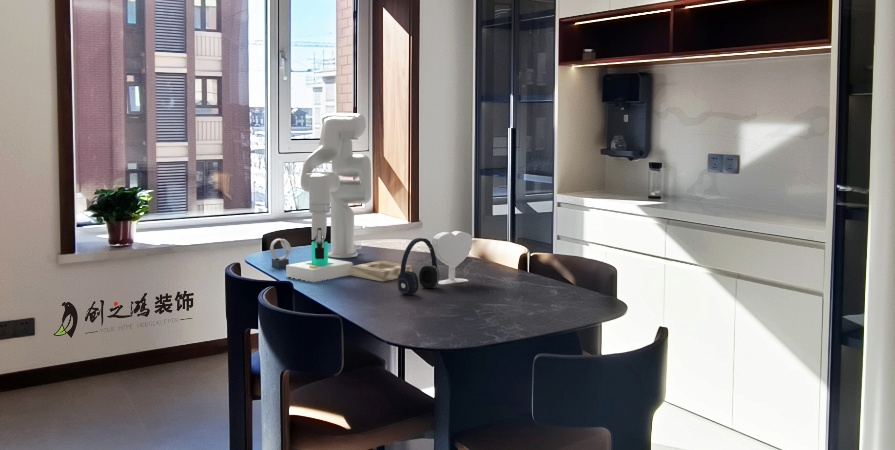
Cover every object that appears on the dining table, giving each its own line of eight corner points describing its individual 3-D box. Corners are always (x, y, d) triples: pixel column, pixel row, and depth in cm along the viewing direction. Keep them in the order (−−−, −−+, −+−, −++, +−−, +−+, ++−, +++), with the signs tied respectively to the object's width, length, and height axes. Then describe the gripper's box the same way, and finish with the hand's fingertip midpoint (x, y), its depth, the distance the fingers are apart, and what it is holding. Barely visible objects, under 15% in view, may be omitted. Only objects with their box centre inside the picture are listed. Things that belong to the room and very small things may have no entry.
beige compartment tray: (379, 269, 334) (380, 260, 334) (411, 275, 325) (411, 265, 324) (350, 275, 322) (350, 266, 321) (382, 281, 312) (383, 271, 312)
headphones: (411, 298, 287) (411, 243, 284) (393, 295, 290) (394, 241, 288) (442, 287, 304) (443, 235, 301) (425, 285, 307) (426, 234, 305)
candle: (324, 272, 317) (324, 239, 315) (309, 271, 318) (308, 238, 316) (330, 269, 323) (330, 237, 321) (314, 268, 324) (314, 236, 322)
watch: (293, 266, 337) (293, 238, 336) (274, 269, 332) (274, 240, 331) (286, 264, 341) (286, 236, 340) (267, 266, 336) (267, 238, 335)
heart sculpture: (464, 277, 321) (465, 229, 319) (472, 280, 317) (473, 231, 315) (430, 282, 312) (430, 232, 309) (438, 284, 308) (439, 234, 306)
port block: (326, 269, 333) (326, 256, 332) (352, 274, 324) (352, 260, 323) (286, 277, 317) (286, 263, 316) (313, 282, 308) (313, 268, 308)
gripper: (309, 205, 325) (310, 253, 328) (308, 211, 308) (308, 261, 311) (330, 205, 326) (330, 253, 328) (329, 211, 309) (329, 261, 312)
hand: (319, 256), depth 320 cm, fingers closed on candle, 4 cm apart
